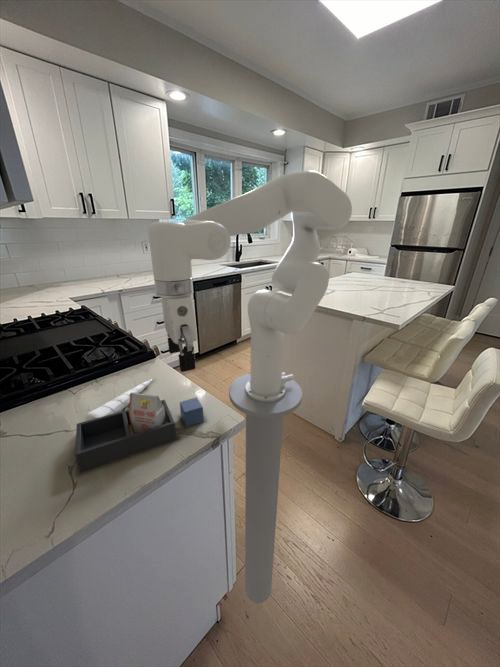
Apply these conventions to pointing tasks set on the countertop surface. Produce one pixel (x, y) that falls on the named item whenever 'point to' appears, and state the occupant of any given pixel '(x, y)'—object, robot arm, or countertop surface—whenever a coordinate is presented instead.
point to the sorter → (117, 438)
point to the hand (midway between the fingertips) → (181, 360)
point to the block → (191, 411)
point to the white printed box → (145, 412)
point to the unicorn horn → (116, 403)
